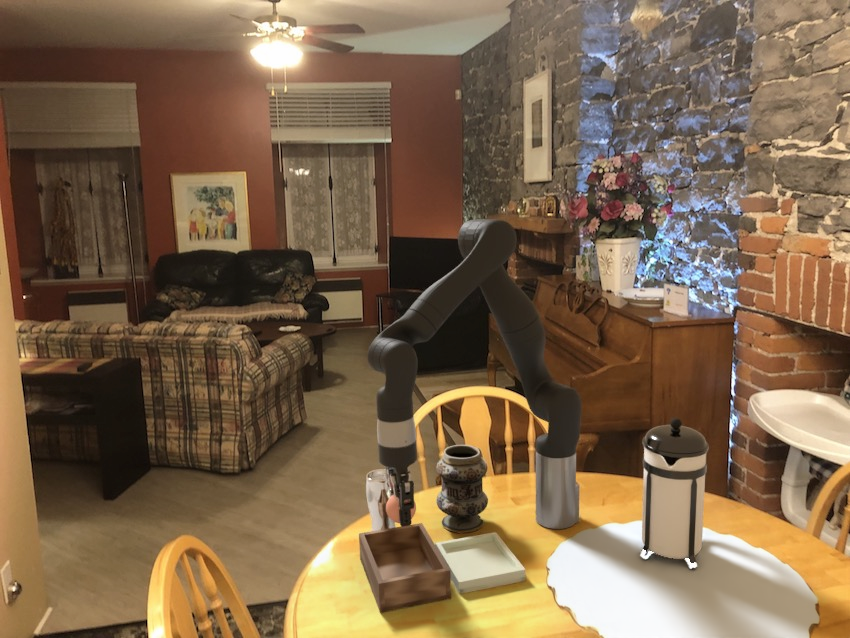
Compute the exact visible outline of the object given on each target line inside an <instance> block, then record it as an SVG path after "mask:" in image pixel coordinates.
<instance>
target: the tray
mask: <svg viewBox="0 0 850 638" xmlns="http://www.w3.org/2000/svg"><path fill="white" fill-rule="evenodd" d="M434 544H435V546H436V547H437V549H438V551H439V552H440V554H441V556H442V557H443V559H444V561H445V562H446V564H447V566H448V567H449V569H450V578H451V583H452V584H453V586H454V588H455V589H456V591H457V593H458V594H466V593H471V592H476V591H481V590H486V589H490V588H496V587H501V586H505V585H506V586H507V585H511V584H515V583H521V582H526V568H525V567H524V566H523V564H522V563H521V562H520V560H519V559H518V558H517V557H516V556H515V554H514V553H513V552H512V551H511V550H510V547H508V546H507V545H506V543H505V542H504V541H503V539H502V537H500V535H499V534H498V533H497V532H496V531H495V532H488V533H482V534H479V535H472V536H466V537H462V538H455V539H454V538H453V539H449V540H444V541H438V542H435V543H434Z"/></svg>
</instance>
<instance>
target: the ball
mask: <svg viewBox="0 0 850 638" xmlns="http://www.w3.org/2000/svg"><path fill="white" fill-rule="evenodd" d="M399 493H400V492H399ZM415 501H416V500H414V508H413V509H411V520H412V519H413V518H414V517H415V514H416V511H417V505H416V502H415ZM404 502H408V501H407V500H405V501H404ZM386 512H387V515H388V516H389V518H390V519H391V520H392V521H394V522H395V524H396V523H397V524H400V520H399V508H398V500H397V498H396V497H395V496H394V494H393V495H392V496H391V497H390V498H389V499H388V501H387V504H386Z"/></svg>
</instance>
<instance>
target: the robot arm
mask: <svg viewBox="0 0 850 638" xmlns="http://www.w3.org/2000/svg"><path fill="white" fill-rule="evenodd" d="M457 234H458V235H457V243H458V249H459V252H460V254H461V256H462V258H463V260H462V261H461V262H460V263H459V264H458V265H457V266H455V268H454V269H452V270H451V271H449V272H448V273H447V274H445V275H444V276H443V277H441V278H439V279H438V280H437V281H435V282H433V284H432V285H430V286H429V287H428V288H426V289H425V290H424V291H423V292H422V293H421V294H420V295H419V296H418V297H417V299H416V300H415V301H414V302H413V303H412V304H411V306H410V307H409V308H408V309H407V310H406V312H405V313H404V314H403V315H402V316H401V317H399V319H397V320H395V321H394V322H393V323H392V324H390V325H388V326H387V327H386V328H385V329H384V330H382V331H381V332H380V333H379V334H378V335H377V336H376V337H375V338H374V339H373V341H372V342H371V344H370V345H369V347H368V351H367V355H366V358H367V359H366V360H367V363H368V365H369V366H370V367H371V368H372V369H373V370H374V371H376V372H378V373H381V374H384V375H385V384H384V386H381V387H380V388H379V389H378V390H377V392H376V397H375V398H376V400H375V402H376V414H377V415H376V416H377V423H376V435H377V436H376V437H377V450H378V451H377V452H378V461H379V464H380V465H381V466H383V467H385V469H386V473H387V486H388V487H390V489H389V492H390V493H392V494H391V496H392V495H393V494H394V496H395V497H396V498H397V500H398V508H399V520H400V523H399V525H400V527H401V526H402V527H404V526H409V525H412V519H411V509H413V508H414V501H415V491H414V490H415V486H414V485H415V483H414V481H413V480H412V474H411V470H409V469H408V468H409V467H410V466H411V465H413V464H415V462H416V461H417V460H418V450H417V449H418V448H417V447H418V446H417V433H416V432H417V429H416V423H415V418H414V417H415V416H414V406H413V405H414V401H413V393H414V390H415V385H416V379H417V375H418V374H417V373H418V366H419V365H418V363H419V362H418V357H417V353H416V351H415V350H416V349H415V348H414V345H416V344H419V343H425V342H428V341H430V340H431V339H432V338H433V337H434V335H435V334H436V333H437V332H438V330H439V329H440V328H441V327H442V326H443V325H444V323H446V321H447V320H448V318H449V317H450V316H451V315H452V313H454V311H455V310H456V309H457V308H458V307H459V306H460V305H461V304H462V303H463V301H465V299H466V298H467V297H468V296H470V295H471V293H473V292H474V291H475V290H476V289H477V288H478V287H479V288H480V290H481V292H482V294H483V297H484V299H485V302H486V303H487V306H488V308H489V310H490V312H491V314H492V316H493V319H494V321H495V324H496V327H497V329H498V331H499V335H500V336H501V339H502V340H503V342H504V344H505V346H506V349H507V351H508V353H509V356H510V358H511V361H512V362H513V364H514V367H515V369H516V371H517V373H518V376H519V380H520V382H521V386H522V389H523V393H524V396H525V399H526V403H527V405H528V408H529V410H530V411H531V413H532V414H533V415H534V416H535V417H537V418H538V419H540V420H542V421H545V422H547V423H548V425H547V433H544V434H541V435H538V437H537V438H536V440H535V521H536V523H538V525H540V526H541V527H545V528H548V529H551V530H552V529H553V530H561V529H563V530H564V529H569V528H570V527H572V526H574V524H578V523H580V483H578V481H577V445H578V444H579V441H580V440H579V439H580V436H581V423H582V399H581V396H580V393H579V392H578V391H577V389H575V388H573V387H571V386H568V385H565V384H563V383H560V382H556V381H555V379H553V377H552V376H551V373H550V372H549V369H548V367H547V365H546V362H545V358H544V357H545V356H544V355H545V354H544V351H545V349H546V348H545V347H546V337H547V336H546V331H545V327H544V324H543V322H542V319H541V316H540V315H539V312H538V310H537V307H536V306H535V304H534V303H533V301H532V300H531V299H530V297H529V296H528V294H526V293H525V291H524V290H523V289H522V288H521V287H520V286H519V285H518V284H517V283H516V282H515V281H514V280H513V278H512V277H511V276H510V274H509V273H508V272H507V270H506V268H505V266H504V264H505V263H506V262H507V261H508V260H509V259H510V258H511V257H512V255H513V254H514V252H515V249H516V246H517V240H518V239H517V233H516V231H515V228H514V227H513V225H512V224H511V223H510V222H508V221H506V220H504V219H497V218H476V219H475V218H474V219H470V220H467V221H466V222H464V223H463V224H462V225H461V226H460V229H459V231H458V233H457ZM399 492H400V493H399ZM405 500H407V501H408V502H404V501H405Z"/></svg>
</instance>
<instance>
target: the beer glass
mask: <svg viewBox="0 0 850 638" xmlns="http://www.w3.org/2000/svg"><path fill="white" fill-rule="evenodd" d="M365 475H366V477H365V478H366V482H365V484H366V485H365V492H366V493H365V495H366V500H367V501H366V502H367V507H368V511H369V516H370V519H371V520H370V521H371V528H370V529H371V530H370V532H371V531H377V530H383V529H389V528H395V527H396V522H394V521H392V520H391V519H390V518H389V516H388V515H387V512H386V504H387V501H388V499H389V498H390V497H391V494H392V493H390V492H389V489H390V487H388V486H387V473H386V468H379V469H378V468H377V469H373V470H371V471H369V472H367V473H366V474H365Z"/></svg>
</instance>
